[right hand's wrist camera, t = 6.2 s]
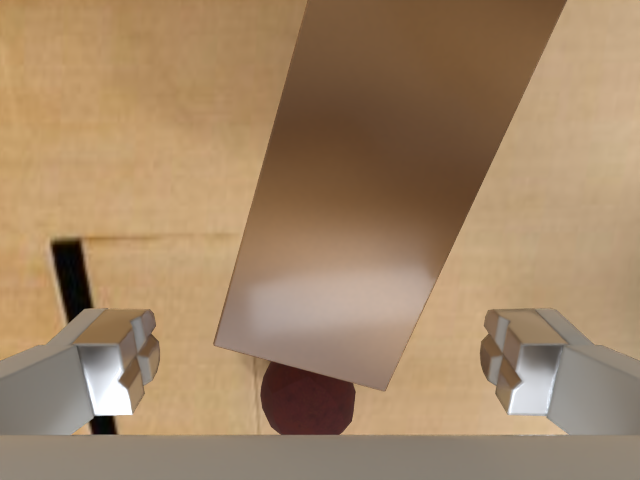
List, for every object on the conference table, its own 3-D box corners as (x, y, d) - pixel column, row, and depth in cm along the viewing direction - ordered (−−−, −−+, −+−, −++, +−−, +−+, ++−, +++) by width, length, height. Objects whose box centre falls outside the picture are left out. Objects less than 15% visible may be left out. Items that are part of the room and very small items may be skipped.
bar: (361, 282, 21) (385, 392, 14) (253, 249, 21) (212, 346, 13) (599, -319, 14) (967, -856, 6) (439, -398, 13) (613, -1112, 5)
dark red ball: (325, 312, 33) (326, 367, 27) (367, 380, 36) (378, 447, 29) (248, 348, 35) (231, 409, 28) (293, 412, 37) (288, 483, 30)
